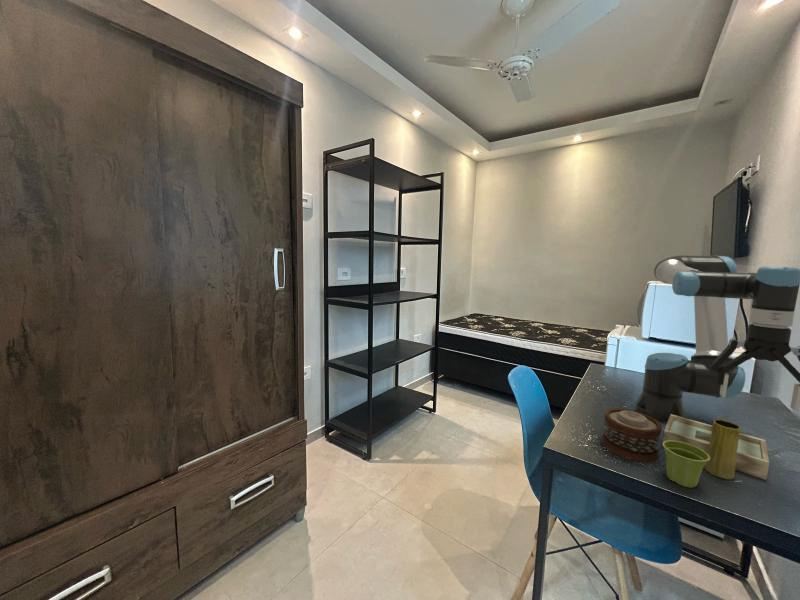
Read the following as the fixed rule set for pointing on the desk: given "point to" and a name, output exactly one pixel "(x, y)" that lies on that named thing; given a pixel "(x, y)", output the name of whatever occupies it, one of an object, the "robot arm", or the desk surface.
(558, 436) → the desk surface
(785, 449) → the desk surface
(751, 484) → the desk surface
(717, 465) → the vase
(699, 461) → the plant pot
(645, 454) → the spiked roller
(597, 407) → the desk surface
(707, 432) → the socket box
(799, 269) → the robot arm
